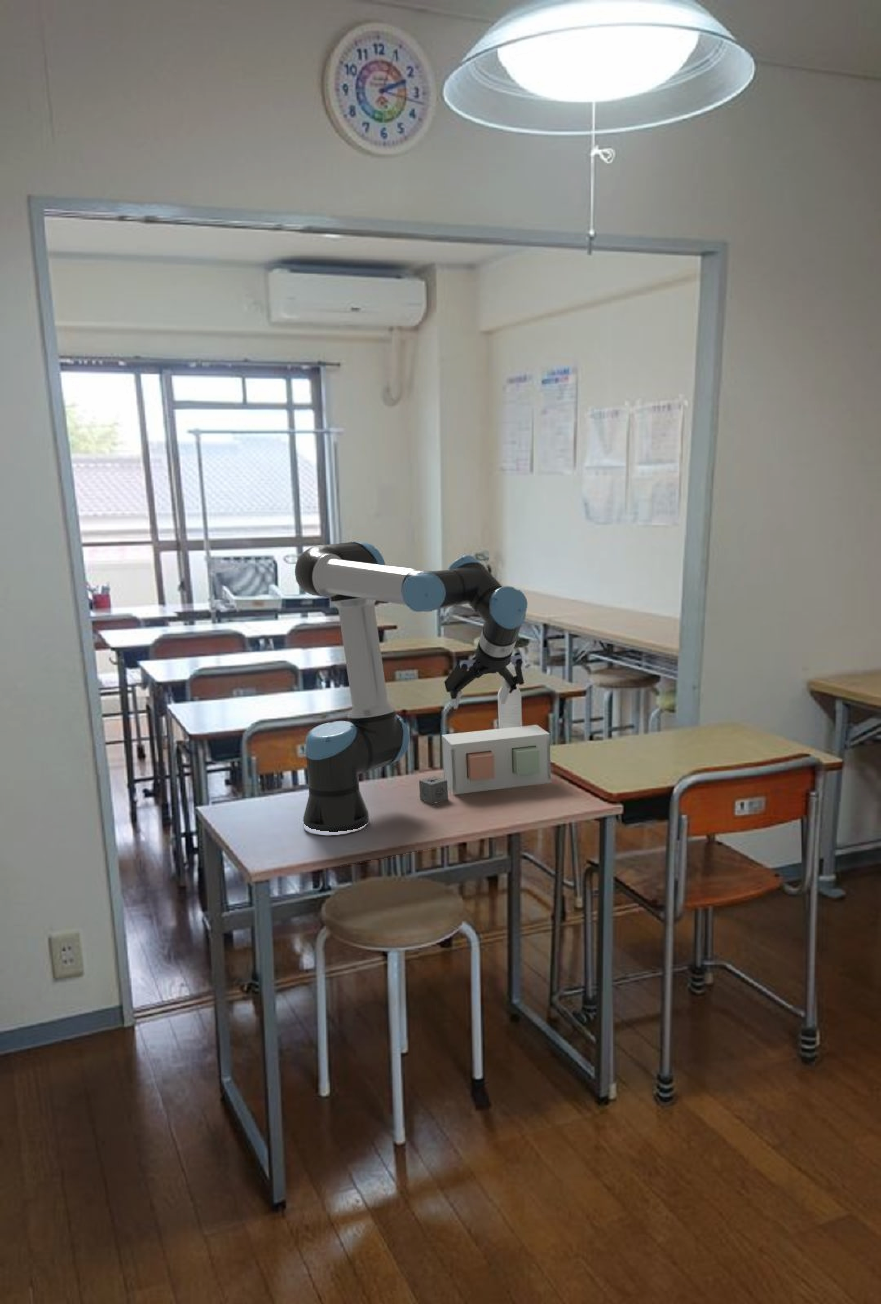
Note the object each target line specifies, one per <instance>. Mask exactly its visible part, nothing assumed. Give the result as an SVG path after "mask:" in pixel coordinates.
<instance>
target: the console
mask: <svg viewBox="0 0 881 1304" xmlns="http://www.w3.org/2000/svg"><path fill="white" fill-rule="evenodd" d="M441 743H442V744H441V746H442V747H441V748H442V763H443V764H442V766H443V767H442V768H443V779H445V780H447V786H448V791H450V792H451V793H452V795H461V794H470V793H478V792H485V791H491V790H492V791H494V790H501V789H509V788H516V787H517V788H518V787H519V788H520V787H526V786H534V785H535V786H536V785H540V784H541V785H542V784H550V783H552V774H551V773H552V772H551V737H550V733H549V732H548V731H546V730H545V729H543V728H542V727H541V726H539V725H538V724H532V725H522V726H520V727H511V728H502V729H499V728H495V729H494V728H493V729H492V728H491V729H486V730H476V731H467V732H457V733H448V734H447V733H446V734H441ZM528 746H535V747H536V748H537V749H539V762H540V773H533V774H525V775H516V774H515V773H514V772H513V771H512V748H519V747H528ZM483 751H490V752H491V753H492V754H493V755H494V778H491V779H483V780H475V781H471V780H470V779H469V778H468V777H467V764H466V753H475V752H483Z"/></svg>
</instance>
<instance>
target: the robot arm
mask: <svg viewBox="0 0 881 1304" xmlns="http://www.w3.org/2000/svg"><path fill="white" fill-rule="evenodd" d="M296 560H297V561H296V563H295V566H294V567H295V568H294V576H295V579H296V582H297V584H298V586H299V587H300V589H302V590H303V591H304V592H305V593H307V594H308V595H312V596H314V597H315V596H317V597H323V598H329V599H330V604H332V605H333V606H334V607H336V608H337V610H338V615H339V622H340V630H341V637H342V638H341V639H342V644H343V650H344V656H345V657H344V658H345V665H346V672H347V673H346V674H347V680H348V685H349V692H350V699H351V700H350V701H351V707H352V708H351V709H350V711H349V712H348V714H347V716H346V717H347V721H345V720H338V721H337V720H335V721H332V722H326V723H322V724H319V725H317V726H315V727H313V728H312V729H310V730H309V731H308V732H307V734H306V737H305V749H304V754H305V758H306V768H307V769H306V770H307V771H306V772H307V773H306V774H307V782H308V783H307V784H308V797H307V801H306V806H305V809H304V812H303V813H304V814H303V818H302V822H304V823H303V825H304V824H305V825H306V826H308V827H309V828H311V829H316V830H320V831H329V832H338V831H347V830H353V829H358V828H360V827H362V826H364V825H365V824H367V823H368V821H369V822H370V817H369V816H370V815H369V811H368V808H367V806H366V804H365V803H366V802H365V801H364V799H363V798H364V797H363V795H362V794H361V791H360V790H361V789H360V780H359V779H360V778H359V777H360V775H361V774H364V773H367V772H371V771H373V770H376V769H379V768H382V767H388V766H390V765H392V764H393V763H396V762H397V761H399V760H400V759H402V758H403V757H404V755H405V754H406V752H407V751H408V748H409V743H410V732H409V729H408V726H407V724H406V723H405V722H404V719H403V718H402V717H401V716H400V715H398V714H397V712H396V707H394V706H392V705H391V704H390V703H389V702H388V701H389V700H388V695H387V694H388V693H387V688H386V687H387V686H386V679H385V674H384V664H383V658H382V651H381V642H380V638H379V628H378V622H377V617H376V616H377V615H376V608H375V603H376V601H379V602H385V603H391V604H397V605H403V606H406V607H408V608H409V609H410V610H411V611H413V612H417V613H421V612H429V613H430V612H434V611H436V610H442V609H446V608H450V607H457V606H462V605H469V606H470V607H471V608H472V609H473V610H474V611H475V613H476V614H477V615H478V616H479V617H481V619H482V620H483V621H484V622H483V626H482V630H481V633H480V636H479V640H478V643H477V647H476V651H475V655H474V656H473V657H472V659H466V658H465V657H463V656H462V657H460V658H459V661H458V664H457V665H456V666H455V668H453V670H452V671H451V672H450V674H449V675H448V676H447V678H446V679H445V680H444V682H443V684H444V686H445V690H446V693H449V694H450V699H451V701H452V705H453V706H452V707H453V709H454V710H458V708H459V705H460V700H461V697H462V692H463V691H462V690H463V689H464V688H466V686H468V685H469V684H471V682H473V681H475V679H480V678H481V677H482V676H483V675H487V674H496V673H498V674H499V675H500V676H501V677H502V678H503V682H502V685H501V686H502V688H501V687H500V688H501V691H500V693H499V696H500V699H501V703H502V704H505V703H506V700H507V697H508V694H509V693H512V692H513V690H515V689H517V687H518V686H517V685H519V686H522V685H524V684H525V681H524V676H523V670H522V665H523V659H522V657H521V656H522V655H521V653H520V652H515V653H514V654H513V652H514V648H515V645H516V643H517V641H518V637H519V633H520V630H521V628H522V625H523V623H525V622H524V621H525V619H526V617H527V609H528V601H527V597H526V595H525V594H524V593H523V592H522V591H521V589H516V588H514V587H513V586H502V585H501V583H500V582H499V581H498V580H497V579H496V578H495V576H493V575H492V574H491V572H489V570H488V569H487V567H486V566H485V565H484V564H482V563H481V562H480V561H478V559H476V558H475V557H474V556H473V555H470V554H468V555H467V554H466V555H462V556H461V557H460V558H457V559H455V560H454V561H453V562H452V563H451V564H450V565H449V567H448V569H444V570H424V569H417V568H410V567H409V568H408V567H401V566H400V567H399V566H393V565H387V564H386V563H385V560H384V556H383V555H382V553H381V552H380V551H379V550H378V549H377V548H376V547H375V546H374V545H373V544H371V543H369V542H366V541H350V542H343V543H342V542H340V543H332V544H331V543H330V544H319V545H314V546H312V547H309V548H307V549H306V550H305V551H303V552H302V553H301V554H300V555H299V557H298V558H297V559H296ZM510 663H511V664H512V665H513V666H514V672H515V674H516V675H515V676H514V675H513V674H512V673H511V671H510V670H509V669H508V668H507V666H508V665H510ZM516 686H517V687H516Z"/></svg>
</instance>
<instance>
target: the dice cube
mask: <svg viewBox="0 0 881 1304" xmlns="http://www.w3.org/2000/svg"><path fill="white" fill-rule="evenodd" d="M418 784H419V785H418V786H419V787H418V788H419V799H420V798H421V799H422V800H421V801H423V800H425V801H427V802H426V803H428V802H429V803H428V804H430V803H434V804H436V803H435V802H438V803H440V802H444V801H448V800H449V792H448V791H449V788H448V786H447V780H445V779H444V778H441V777H439V776H436V775H434V776H429V777H426V778H423V779H419V780H418ZM425 801H424V802H425Z"/></svg>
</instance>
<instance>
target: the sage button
mask: <svg viewBox="0 0 881 1304" xmlns="http://www.w3.org/2000/svg"><path fill="white" fill-rule="evenodd" d="M512 771H513V772H514V773H515V774H516V775H525V774H533V773H540V762H539V749H537V748H536V747H535V746H528V747H519V748H512Z"/></svg>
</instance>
